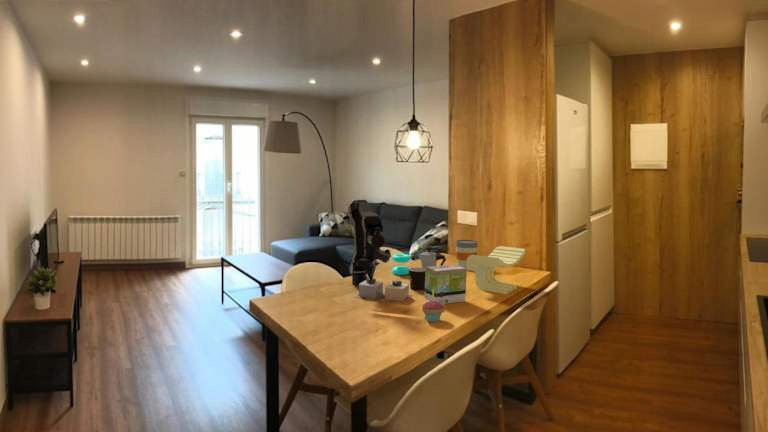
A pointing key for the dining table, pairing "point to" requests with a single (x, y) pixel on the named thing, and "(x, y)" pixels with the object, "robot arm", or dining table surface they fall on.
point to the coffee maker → (430, 258)
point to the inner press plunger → (371, 280)
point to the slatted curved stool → (487, 264)
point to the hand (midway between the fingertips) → (371, 279)
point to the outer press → (396, 292)
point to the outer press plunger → (397, 283)
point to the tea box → (446, 283)
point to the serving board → (382, 298)
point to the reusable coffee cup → (465, 251)
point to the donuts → (401, 259)
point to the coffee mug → (417, 278)
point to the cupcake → (433, 309)
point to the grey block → (371, 289)
